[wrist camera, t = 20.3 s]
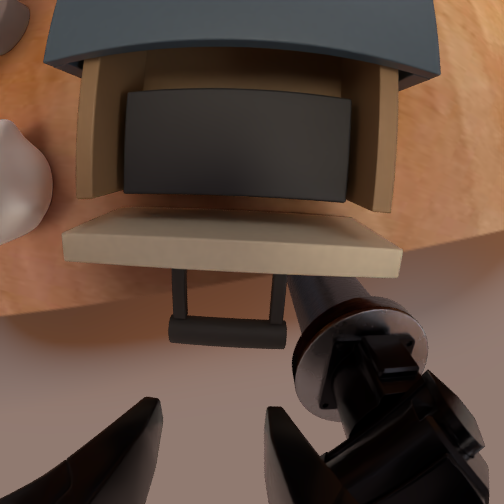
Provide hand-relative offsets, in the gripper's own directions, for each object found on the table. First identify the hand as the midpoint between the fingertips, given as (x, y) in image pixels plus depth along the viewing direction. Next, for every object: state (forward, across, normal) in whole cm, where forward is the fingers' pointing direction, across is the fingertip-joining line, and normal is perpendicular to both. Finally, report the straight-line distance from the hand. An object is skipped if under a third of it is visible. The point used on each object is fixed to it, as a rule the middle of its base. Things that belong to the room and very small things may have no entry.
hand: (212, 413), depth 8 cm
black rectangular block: (+10, 0, -7) cm, 12 cm away
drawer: (+11, 0, -7) cm, 13 cm away
